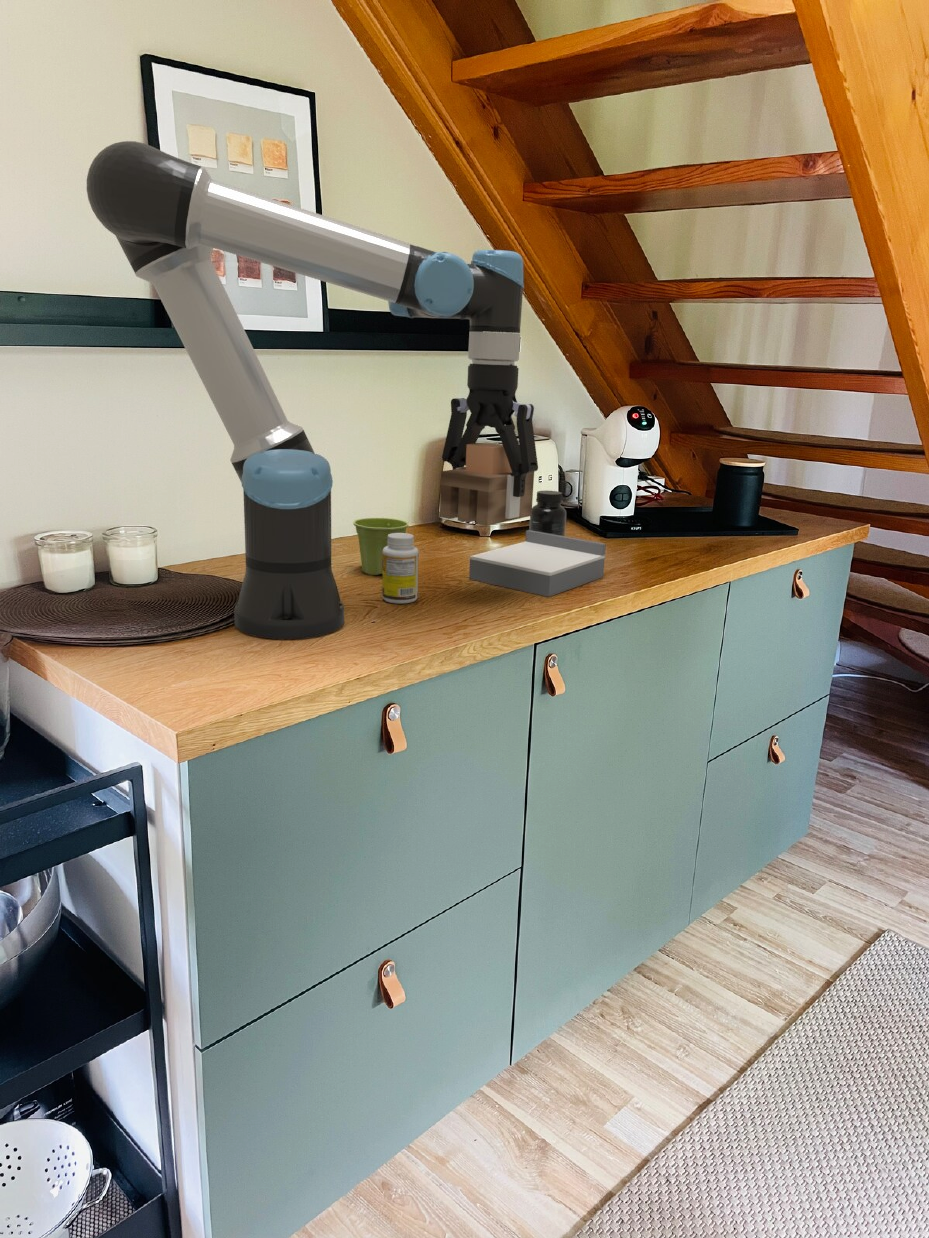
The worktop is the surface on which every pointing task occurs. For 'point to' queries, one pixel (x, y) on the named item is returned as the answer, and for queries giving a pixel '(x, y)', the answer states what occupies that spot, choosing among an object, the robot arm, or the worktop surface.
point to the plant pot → (376, 540)
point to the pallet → (480, 496)
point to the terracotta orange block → (487, 458)
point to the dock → (541, 564)
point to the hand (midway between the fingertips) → (486, 513)
